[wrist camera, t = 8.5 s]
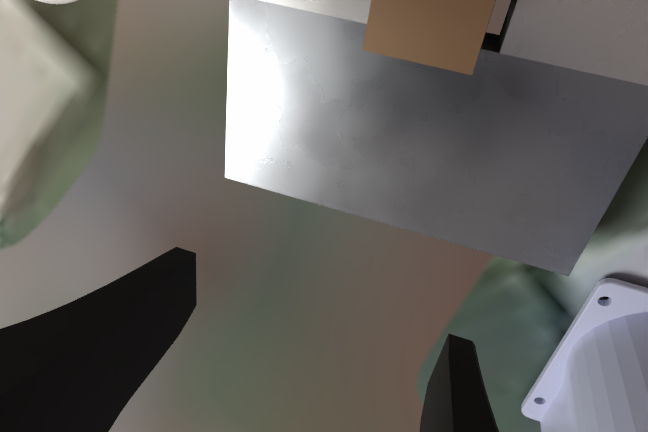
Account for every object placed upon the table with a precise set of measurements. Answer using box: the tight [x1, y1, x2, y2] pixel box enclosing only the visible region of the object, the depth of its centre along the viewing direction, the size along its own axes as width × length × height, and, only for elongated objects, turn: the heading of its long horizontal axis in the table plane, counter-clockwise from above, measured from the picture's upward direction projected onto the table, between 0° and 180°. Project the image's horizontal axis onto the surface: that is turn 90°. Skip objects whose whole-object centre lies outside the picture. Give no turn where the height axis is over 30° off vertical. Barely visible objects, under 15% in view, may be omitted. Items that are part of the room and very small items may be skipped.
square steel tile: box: [225, 0, 648, 276], centre depth 16 cm, size 16×14×2 cm
